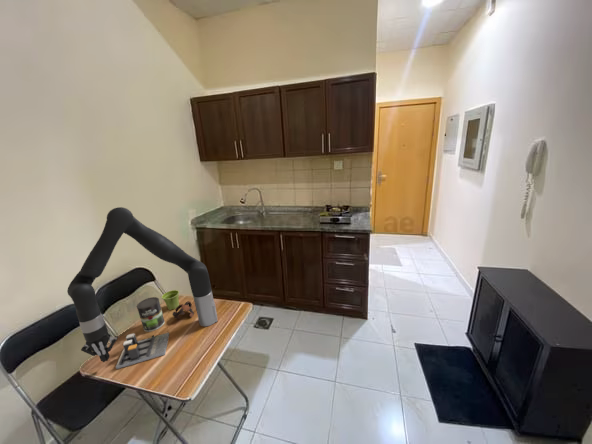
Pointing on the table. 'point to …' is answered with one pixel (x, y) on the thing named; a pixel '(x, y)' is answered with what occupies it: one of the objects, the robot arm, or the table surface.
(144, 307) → the coffee can
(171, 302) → the plant pot
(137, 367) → the table surface
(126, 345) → the block
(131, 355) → the breaker
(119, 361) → the breaker panel
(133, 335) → the block
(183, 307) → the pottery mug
